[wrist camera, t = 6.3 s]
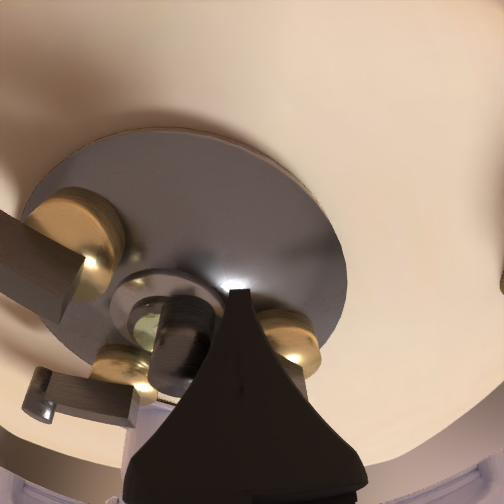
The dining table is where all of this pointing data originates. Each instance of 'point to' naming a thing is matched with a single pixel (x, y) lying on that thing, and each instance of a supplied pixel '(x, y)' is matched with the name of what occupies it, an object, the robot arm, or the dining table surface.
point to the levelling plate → (197, 234)
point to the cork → (502, 284)
